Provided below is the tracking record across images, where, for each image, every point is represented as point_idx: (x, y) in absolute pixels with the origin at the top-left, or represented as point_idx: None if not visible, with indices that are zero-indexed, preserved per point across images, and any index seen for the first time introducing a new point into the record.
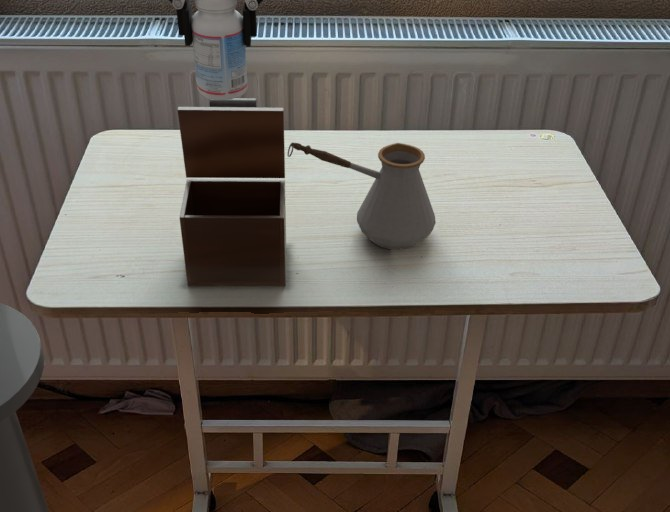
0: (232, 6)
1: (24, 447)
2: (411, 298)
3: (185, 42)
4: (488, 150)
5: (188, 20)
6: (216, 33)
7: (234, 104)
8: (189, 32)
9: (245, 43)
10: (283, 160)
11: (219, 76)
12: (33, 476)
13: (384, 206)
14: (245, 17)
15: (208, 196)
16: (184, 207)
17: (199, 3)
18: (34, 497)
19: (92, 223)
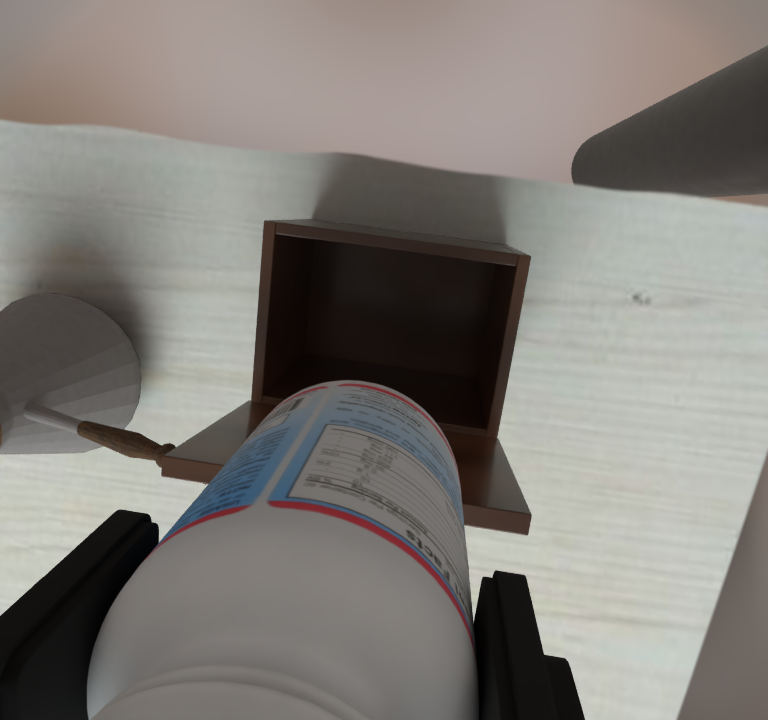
0: None
1: None
2: (69, 146)
3: (523, 584)
4: None
5: (504, 691)
6: (296, 524)
7: None
8: (496, 624)
9: (142, 523)
10: (233, 412)
11: (348, 412)
12: (746, 102)
13: (52, 344)
14: (22, 625)
15: (445, 409)
16: (513, 304)
17: None
18: (738, 88)
19: (685, 496)
